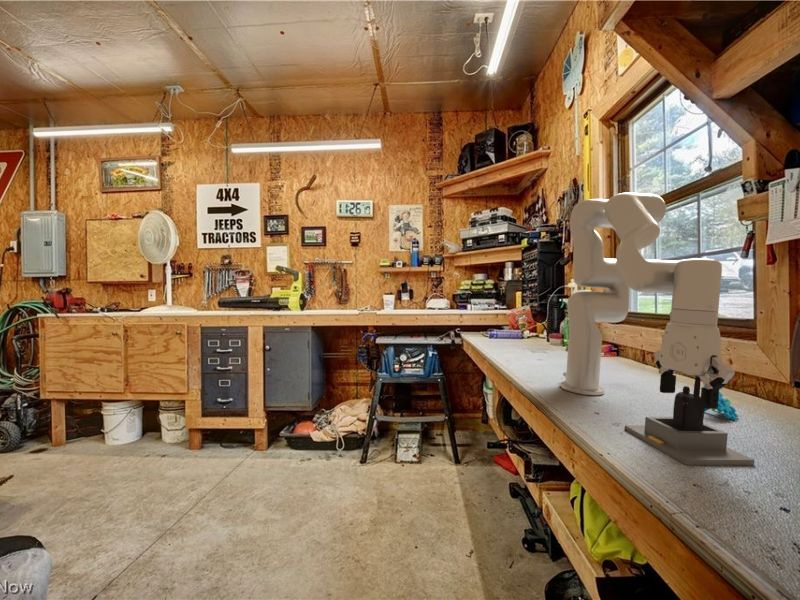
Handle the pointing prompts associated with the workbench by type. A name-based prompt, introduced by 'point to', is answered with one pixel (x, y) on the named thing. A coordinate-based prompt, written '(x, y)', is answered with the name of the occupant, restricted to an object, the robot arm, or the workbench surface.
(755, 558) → the workbench surface
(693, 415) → the two-way radio
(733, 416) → the blue branched piece
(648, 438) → the charging cradle
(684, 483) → the workbench surface
